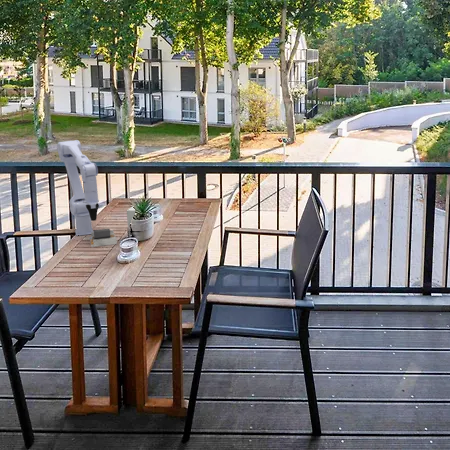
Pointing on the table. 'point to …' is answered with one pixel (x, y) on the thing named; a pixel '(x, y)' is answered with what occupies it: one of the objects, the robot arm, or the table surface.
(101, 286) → the table surface
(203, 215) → the table surface
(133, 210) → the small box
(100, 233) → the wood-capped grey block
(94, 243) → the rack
